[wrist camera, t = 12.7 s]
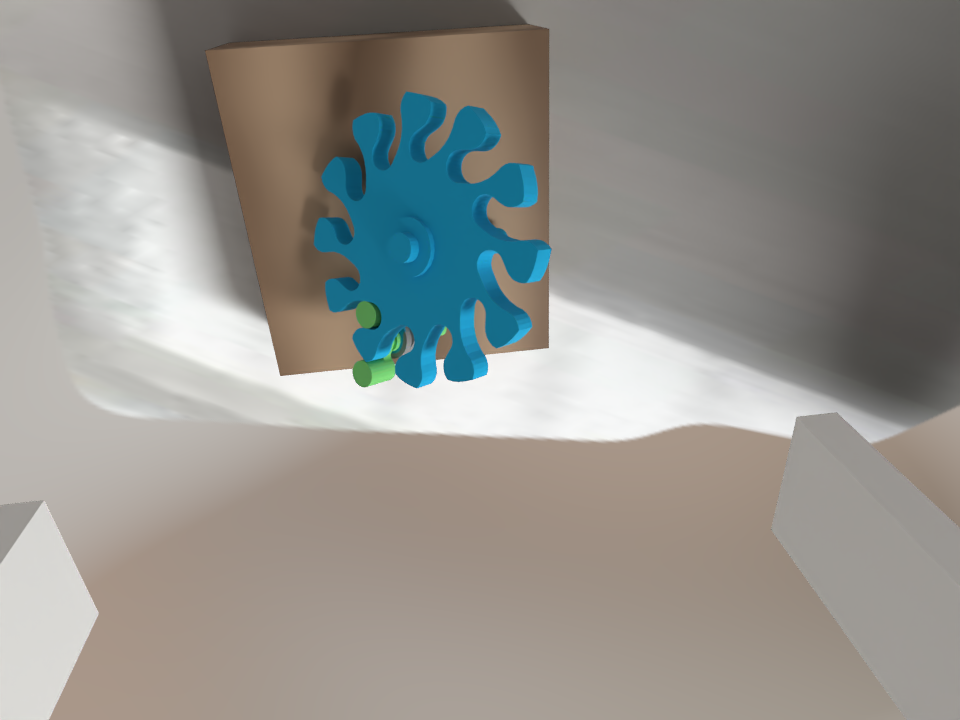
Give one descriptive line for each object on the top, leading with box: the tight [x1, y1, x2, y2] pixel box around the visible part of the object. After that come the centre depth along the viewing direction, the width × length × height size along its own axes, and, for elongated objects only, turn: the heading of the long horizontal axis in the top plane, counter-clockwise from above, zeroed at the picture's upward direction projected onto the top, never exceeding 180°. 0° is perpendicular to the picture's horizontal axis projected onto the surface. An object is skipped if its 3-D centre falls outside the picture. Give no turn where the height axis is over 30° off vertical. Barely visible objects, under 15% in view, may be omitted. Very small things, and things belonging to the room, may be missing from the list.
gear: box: [314, 91, 551, 388], centre depth 25 cm, size 11×6×10 cm
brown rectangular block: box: [205, 24, 549, 376], centre depth 28 cm, size 12×13×4 cm
